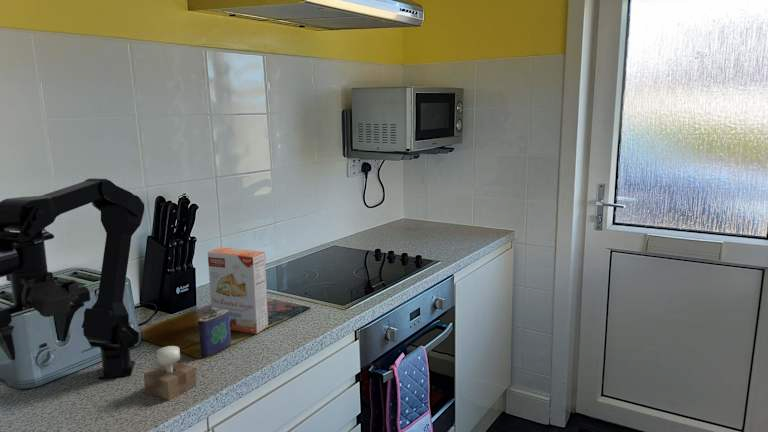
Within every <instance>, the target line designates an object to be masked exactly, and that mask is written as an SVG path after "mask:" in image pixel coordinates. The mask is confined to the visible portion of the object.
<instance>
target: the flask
mask: <svg viewBox="0 0 768 432" xmlns="http://www.w3.org/2000/svg"><path fill="white" fill-rule="evenodd" d="M210 309H212V310H213V311H212V310H211V312H210V313H209V314H208V315H206V316H204V315H203V316H202V317H200V318H199V319H198V320H197V328H198V335H199V346H200V347H199V348H200V358H203V359H207V358H210V357H212V356H215V355H218V354H219V353H221V352H222V351H225V350H226V349H228V348H229V347H230V346H231V345H232V338H231V337H232V336H231V330H230V320H229V310H226V309H223V310H220V311H217V310H219V309H217V308H215V307H214V308H211V307H210Z"/></svg>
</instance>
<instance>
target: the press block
mask: <svg viewBox="0 0 768 432" xmlns="http://www.w3.org/2000/svg"><path fill="white" fill-rule="evenodd" d="M172 366H173V372H172V373H170V374H168V373H167V371H166V364H160V365H159V366H157V367H155V368H154V369H151V370H149V371H146V372H145V373H143V382H144V384H143V385H144V392H145V393H146V394H149V395H152V396H155V397H158V398H161V399H164V400H167V401H171V400H173V399H175V398H177V397H178V396H180V395H182V394H184V393H186V392H188V391H189V390H191V389H193V388H195V387H197V376H196V372H197V371H196V367H194V366H191V365H188V364H184V363H180V362H179V361H177V362H175V363H172Z"/></svg>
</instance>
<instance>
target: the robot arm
mask: <svg viewBox="0 0 768 432" xmlns="http://www.w3.org/2000/svg"><path fill="white" fill-rule="evenodd" d="M89 204H91V205H92V207H94V208H96V209H97V211H99V212H100V222H101V224H102V226H103V228H104V231H105V234H106V236H105V241H104V249H103V257H102V258H103V259H102V264H101V265H102V266H101V271H100V278H99V286H98V292H97V293H98V295H97V299H96V301H95V302H94V304H93V305H92V306H91V308H88V307H86V308H85V309H84V312H83V321H82V325H81V328H82V330H83V331H82V333H83V334H82V335H83V336H84V337H85V338H86V340H87V341H88V343H89V346H90V347H91V348H99V350H100V358H101V368H102V369H101V370H100V372H99V375H98V379H99V380H101V379H102V380H103V379H110V378H118V377H126V376H131V375H132V374H133V371H134V368H135V365H136V360H132V359H131V349H133V348H134V347H135V345H136V344H138V343H139V339H140V332H138V331H137V330H136V329H134V328H133V327H132V326H130V324H129V321H130V320H129V319H130V318H129V317H130V316H129V313H128V311H127V308H126V306H125V303H124V295H125V294H124V293H125V288H126V287H125V286H126V281H127V280H126V279H127V271H128V266H129V257H130V250H131V243H132V236H133V235H134V234H135V232H137V230H138V228H139V227H140V226H141V224H142V221H143V217H144V214H145V203H144V202H143V200H142V199H141V198H140V196H139V195H136V194H133V192H131V191H129V190H127V189H126V188H125V189H124V188H122V187H120V186H118V185H116V184H115V183H114V182H112V181H111V180H109V179H107V178H87V179H85V180H84V181H81V182H79V183H76V184H75V183H74V184H72V185H69V186H66V187H63V188H60V189H58V190H57V189H56V190H55V191H51V192H49V193H44V194H42V195H33V196H32V195H31V196H20V197H10V198H5V199H3V200H1V201H0V278H2V277H5V278H6V281H8V282H10V284H11V292H12V293H11V294H12V296H9V297H8V301H9V303H10V304H13V305H10V306H7V307H2V306H0V348H1V349H2V351H3V352H4V354H5V355H6V356H7V358H8V359H9V360H10V361H15V360H16V349H15V345H14V340H13V334H12V333H13V332H14V329H15V326H13V325H11V323H12V321H13V320H12V319H13V318H14V317H18V316H21V315H25V314H27V313H31V312H34V311H37V312H38V313H39V314H40V316H42V317H45V318H49V317H50V318H51V317H53V316H54V320H55V327H56V331H57V335H58V337H59V341H60V342H62V343H64V342H66V340H67V338H68V334H69V330H70V326H71V325H72V324H71V323H72V320H73V317H74V315H75V313H76V312H78V310H79V309H80V308H83V307H84V306H85V303H87V302H89V301H91V292H90V290H89V289H88V287H86V285H80V284H79V282H77V281H76V280H74V279H71V280H69V281H64V282H61V283H56V281H55V279H54V274H53V272H52V271H48V261H47V255H46V246H45V241H48V240H49V241H50V240H53V239H54V238H55V235H54V234H53V233H51V232H49V231H48V230H47V229H45V228H47V227H49V226H50V225H51V224H54V222H55V221H56V219H57V217H58V216H60V215H62V214H65V213H68V212H70V211H74V210H75V209H79V208H81V207H83V206H85V205H89Z"/></svg>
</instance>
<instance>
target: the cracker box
mask: <svg viewBox="0 0 768 432" xmlns="http://www.w3.org/2000/svg"><path fill="white" fill-rule="evenodd" d="M207 262H208V276H209V279H208V280H209V291H210V294H209V295H210V305H211V306H210V309H211V308H214V307H215V308H217V309H219V310H217V311H220V310H223V309H226V310H229V320H230V331H233V332H239V333H246V334H251V335H259V333H261V332H262V331H264V330H265V329H267V328H268V327H269V313H268V312H269V311H268V309H269V308H268V290H267V272H266V271H267V270H266V252H265V251H258V250H247V249H241V248H239V249H238V248H230V247H219V248H216V249H213V250H210V251H208V252H207ZM212 311H213V310H212V309H211V312H212Z"/></svg>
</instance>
